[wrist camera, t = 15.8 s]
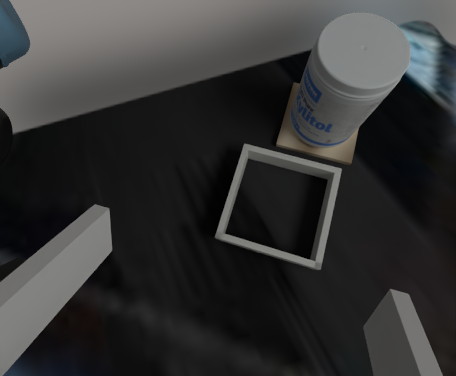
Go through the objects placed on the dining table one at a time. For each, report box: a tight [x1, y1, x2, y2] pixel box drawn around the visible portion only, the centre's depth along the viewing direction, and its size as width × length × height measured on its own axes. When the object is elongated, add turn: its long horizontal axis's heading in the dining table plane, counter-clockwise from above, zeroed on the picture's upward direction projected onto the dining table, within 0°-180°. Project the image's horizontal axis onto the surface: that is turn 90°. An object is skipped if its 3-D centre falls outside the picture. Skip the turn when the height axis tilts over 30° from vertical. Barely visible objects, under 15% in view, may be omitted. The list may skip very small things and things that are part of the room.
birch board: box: [276, 83, 359, 165], centre depth 42 cm, size 11×11×1 cm
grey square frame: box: [215, 144, 342, 270], centre depth 38 cm, size 14×14×3 cm
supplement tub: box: [290, 12, 411, 148], centre depth 34 cm, size 10×10×15 cm
